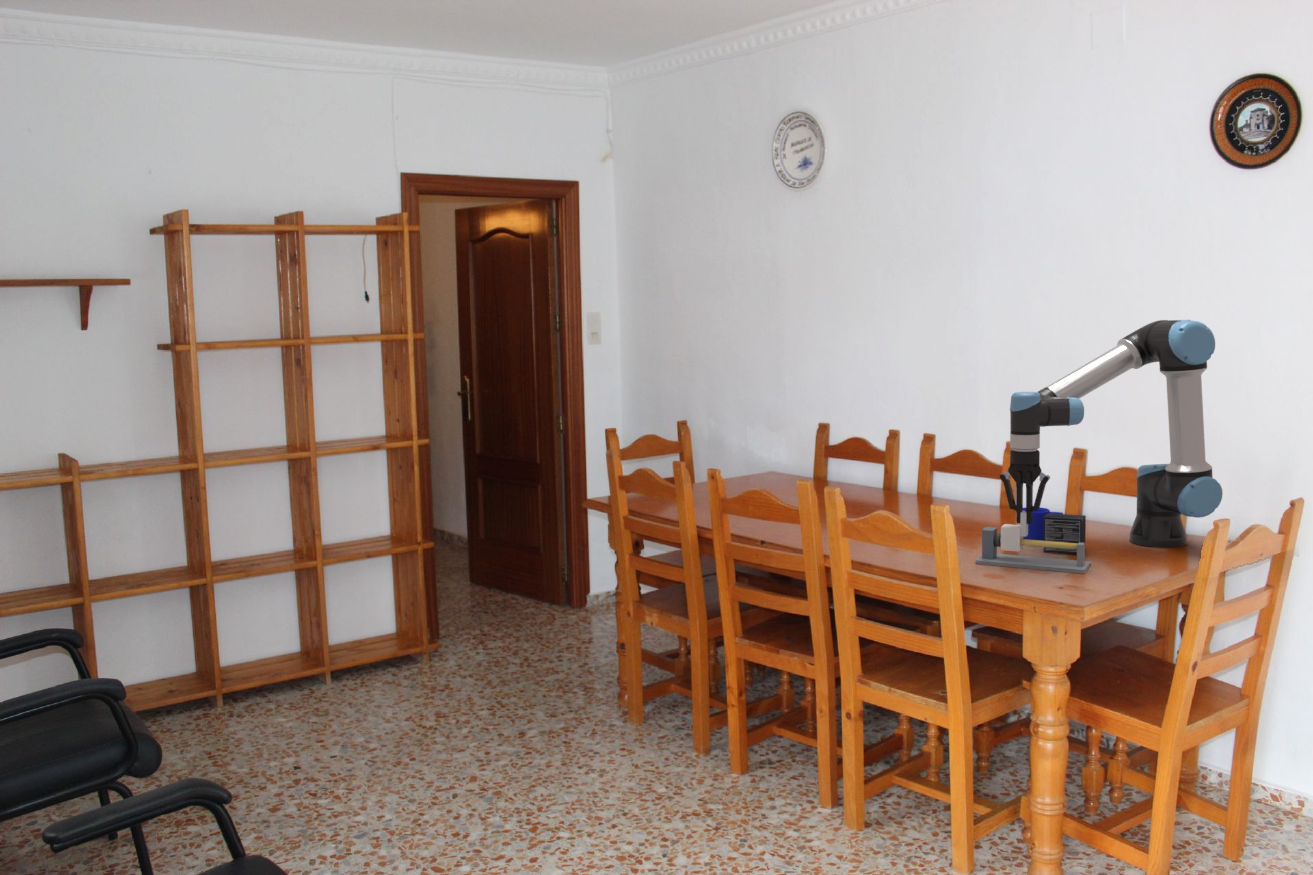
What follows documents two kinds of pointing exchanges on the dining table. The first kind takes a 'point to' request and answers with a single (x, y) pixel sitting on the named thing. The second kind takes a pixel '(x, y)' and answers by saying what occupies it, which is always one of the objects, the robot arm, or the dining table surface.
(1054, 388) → the robot arm
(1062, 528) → the small box
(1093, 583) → the dining table surface
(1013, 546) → the sleeve
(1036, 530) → the mug
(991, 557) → the cord stand
